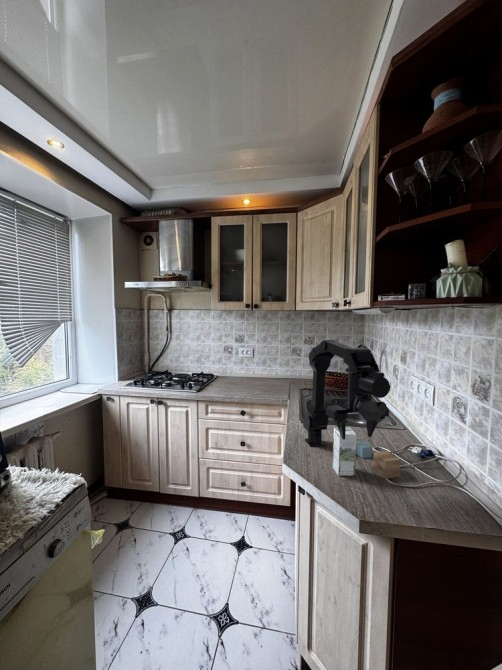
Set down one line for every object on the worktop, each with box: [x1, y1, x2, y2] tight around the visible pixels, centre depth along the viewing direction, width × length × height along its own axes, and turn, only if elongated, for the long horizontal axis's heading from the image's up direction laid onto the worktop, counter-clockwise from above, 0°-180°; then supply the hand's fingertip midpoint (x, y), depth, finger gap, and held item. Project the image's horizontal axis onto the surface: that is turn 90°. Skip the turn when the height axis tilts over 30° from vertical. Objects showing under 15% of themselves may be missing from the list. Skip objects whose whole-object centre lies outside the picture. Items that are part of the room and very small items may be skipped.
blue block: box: [356, 441, 373, 459], centre depth 101 cm, size 4×4×4 cm
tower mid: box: [373, 450, 401, 470], centre depth 89 cm, size 6×6×3 cm
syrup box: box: [332, 427, 358, 477], centre depth 89 cm, size 6×6×14 cm
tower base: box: [371, 460, 401, 479], centre depth 89 cm, size 6×6×3 cm
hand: (356, 437), depth 82 cm, fingers open, 9 cm apart
